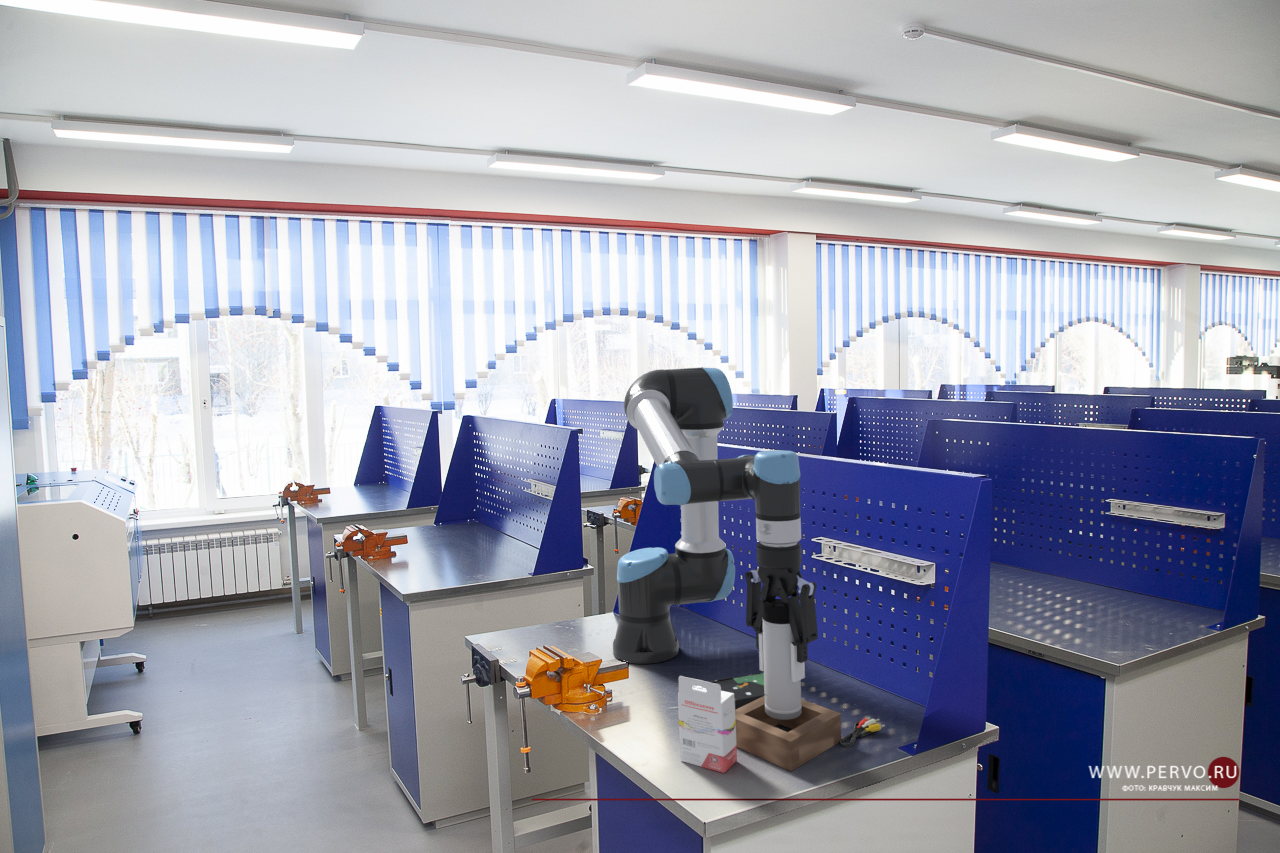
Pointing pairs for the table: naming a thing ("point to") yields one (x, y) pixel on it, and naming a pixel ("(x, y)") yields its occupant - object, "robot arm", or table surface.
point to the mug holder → (787, 733)
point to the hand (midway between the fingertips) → (781, 673)
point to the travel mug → (779, 663)
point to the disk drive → (743, 688)
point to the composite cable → (861, 730)
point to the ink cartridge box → (706, 725)
